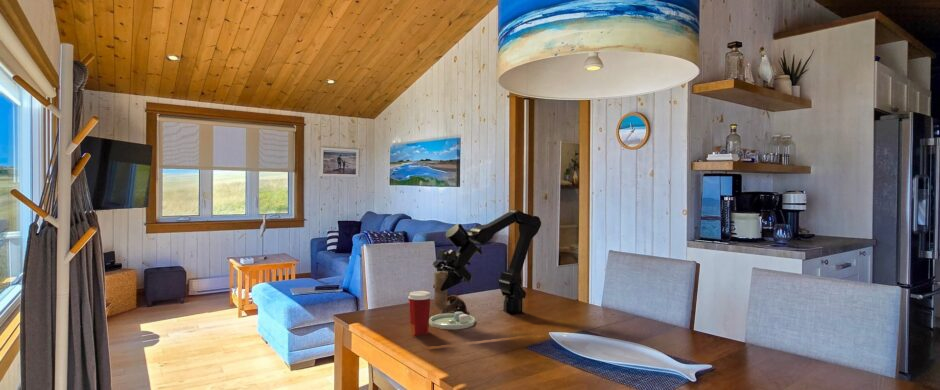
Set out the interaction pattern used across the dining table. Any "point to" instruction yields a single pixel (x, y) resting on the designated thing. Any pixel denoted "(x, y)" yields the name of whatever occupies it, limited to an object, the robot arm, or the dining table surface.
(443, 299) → the pepper grinder
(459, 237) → the robot arm
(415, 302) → the paper cup
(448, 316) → the green tray
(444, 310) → the brown hollow cylinder
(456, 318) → the blue-grey rounded piece
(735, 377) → the dining table surface
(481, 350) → the dining table surface
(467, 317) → the cream round bead
